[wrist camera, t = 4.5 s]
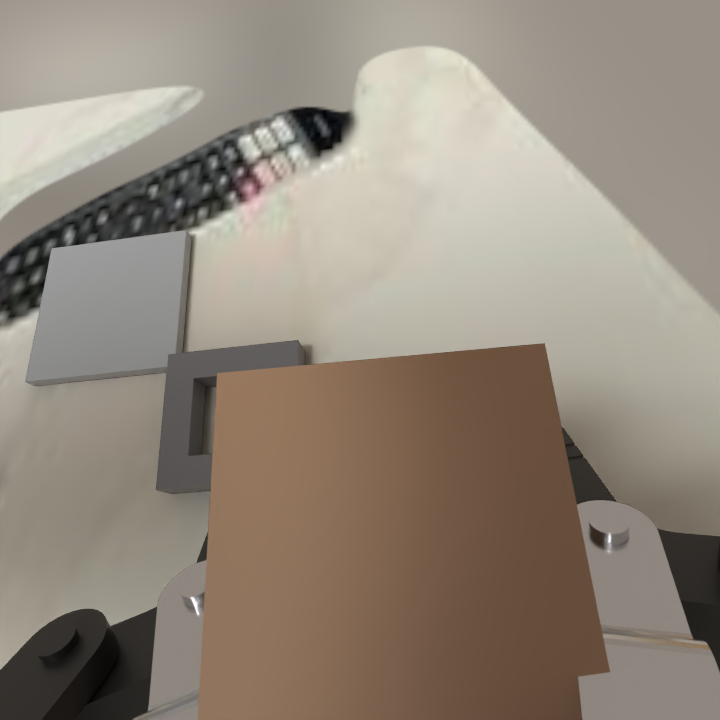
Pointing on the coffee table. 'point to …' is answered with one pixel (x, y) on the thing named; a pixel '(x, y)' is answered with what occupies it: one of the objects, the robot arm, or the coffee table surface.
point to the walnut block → (395, 544)
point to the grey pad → (111, 309)
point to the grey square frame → (187, 403)
